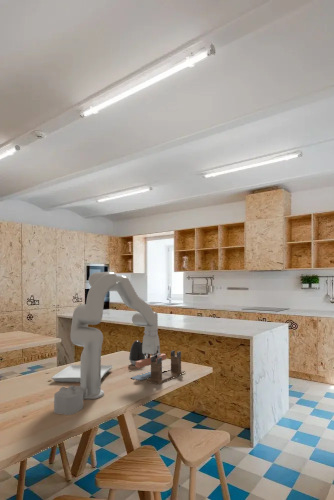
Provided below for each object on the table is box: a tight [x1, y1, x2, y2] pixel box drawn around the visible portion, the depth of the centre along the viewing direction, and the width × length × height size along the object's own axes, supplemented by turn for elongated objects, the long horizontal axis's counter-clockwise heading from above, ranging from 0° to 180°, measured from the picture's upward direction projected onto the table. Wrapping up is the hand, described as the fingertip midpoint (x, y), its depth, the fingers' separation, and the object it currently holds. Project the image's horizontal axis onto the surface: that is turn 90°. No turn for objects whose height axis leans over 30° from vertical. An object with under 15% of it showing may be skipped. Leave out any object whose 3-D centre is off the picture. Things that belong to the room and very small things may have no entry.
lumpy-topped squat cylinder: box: [53, 385, 84, 416], centre depth 145 cm, size 10×13×9 cm
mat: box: [130, 371, 151, 382], centre depth 195 cm, size 27×8×1 cm, turn 143°
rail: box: [135, 353, 167, 369], centre depth 196 cm, size 24×3×3 cm, turn 143°
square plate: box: [51, 364, 114, 383], centre depth 191 cm, size 27×27×4 cm
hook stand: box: [146, 350, 186, 385], centre depth 189 cm, size 25×8×13 cm, turn 143°
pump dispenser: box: [128, 340, 146, 366], centre depth 217 cm, size 10×10×15 cm
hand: (151, 365), depth 195 cm, fingers closed on rail, 3 cm apart
